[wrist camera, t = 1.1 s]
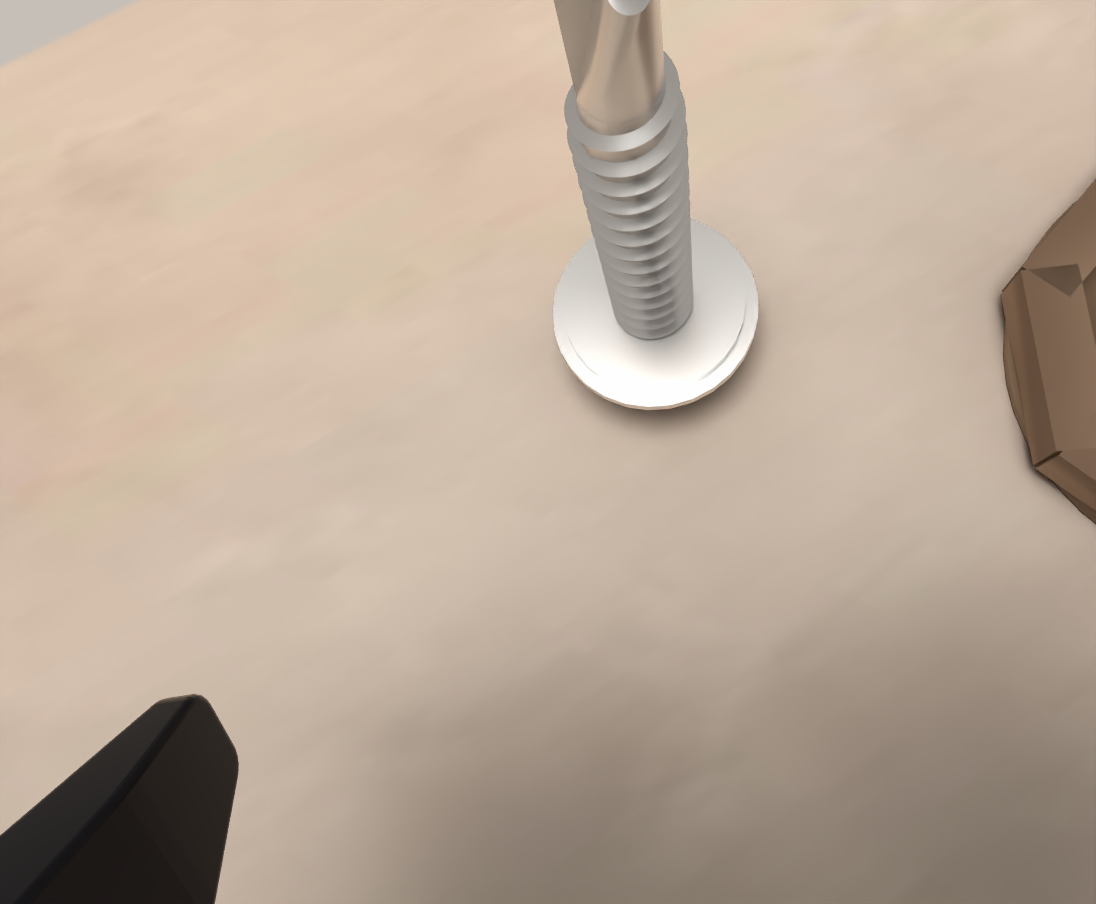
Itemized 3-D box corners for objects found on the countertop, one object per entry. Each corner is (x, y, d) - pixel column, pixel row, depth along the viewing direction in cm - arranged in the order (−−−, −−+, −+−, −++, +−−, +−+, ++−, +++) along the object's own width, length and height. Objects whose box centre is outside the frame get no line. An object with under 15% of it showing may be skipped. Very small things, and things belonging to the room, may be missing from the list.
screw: (778, 399, 22) (591, 450, 22) (722, 229, 23) (547, 282, 24) (871, 58, 10) (447, 193, 10) (743, -267, 11) (371, -133, 11)
